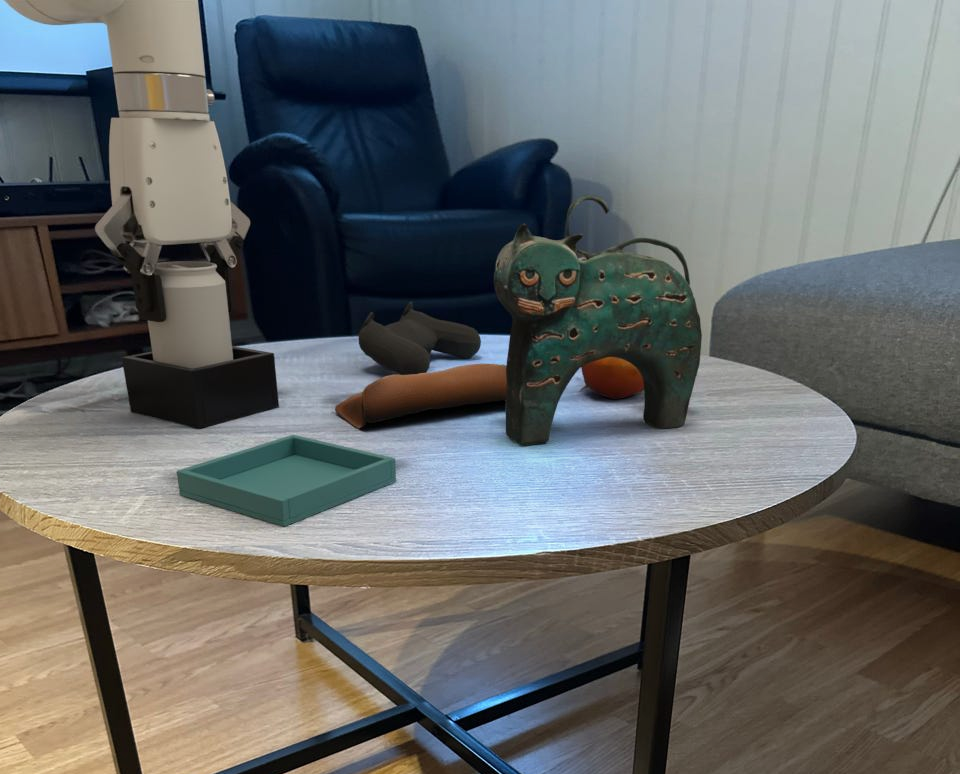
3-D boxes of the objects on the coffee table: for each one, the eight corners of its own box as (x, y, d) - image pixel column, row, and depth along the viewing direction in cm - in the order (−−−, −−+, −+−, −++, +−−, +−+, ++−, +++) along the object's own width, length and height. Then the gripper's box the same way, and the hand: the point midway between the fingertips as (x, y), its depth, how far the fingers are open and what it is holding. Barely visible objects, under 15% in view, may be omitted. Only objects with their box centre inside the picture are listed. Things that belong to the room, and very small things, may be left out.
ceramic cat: (507, 452, 81) (513, 197, 72) (480, 432, 86) (481, 193, 77) (701, 429, 88) (729, 194, 78) (664, 413, 93) (687, 190, 84)
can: (253, 391, 93) (240, 262, 88) (197, 406, 88) (180, 269, 82) (198, 381, 97) (183, 256, 91) (141, 395, 91) (121, 263, 85)
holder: (199, 429, 87) (191, 371, 85) (130, 412, 92) (121, 357, 90) (279, 406, 94) (274, 352, 92) (211, 392, 100) (205, 341, 97)
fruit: (602, 366, 105) (635, 307, 99) (644, 414, 103) (680, 356, 97) (550, 376, 101) (581, 314, 95) (593, 426, 98) (627, 367, 92)
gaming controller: (469, 374, 119) (410, 326, 120) (491, 336, 115) (429, 287, 116) (403, 402, 106) (337, 349, 107) (425, 361, 102) (356, 305, 103)
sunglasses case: (483, 385, 101) (501, 335, 95) (513, 432, 98) (533, 383, 92) (327, 407, 92) (337, 353, 87) (355, 458, 89) (367, 406, 84)
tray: (284, 526, 65) (281, 500, 64) (179, 494, 71) (175, 470, 70) (396, 481, 74) (395, 458, 73) (295, 456, 80) (293, 434, 79)
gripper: (213, 106, 89) (232, 302, 97) (45, 95, 76) (83, 322, 84) (268, 105, 85) (283, 309, 93) (101, 94, 72) (136, 331, 81)
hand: (188, 314), depth 89 cm, fingers closed on can, 7 cm apart
